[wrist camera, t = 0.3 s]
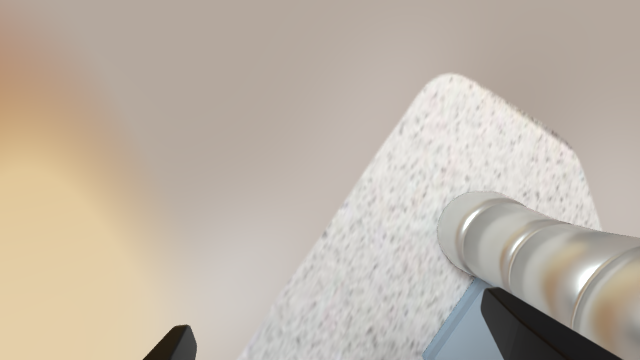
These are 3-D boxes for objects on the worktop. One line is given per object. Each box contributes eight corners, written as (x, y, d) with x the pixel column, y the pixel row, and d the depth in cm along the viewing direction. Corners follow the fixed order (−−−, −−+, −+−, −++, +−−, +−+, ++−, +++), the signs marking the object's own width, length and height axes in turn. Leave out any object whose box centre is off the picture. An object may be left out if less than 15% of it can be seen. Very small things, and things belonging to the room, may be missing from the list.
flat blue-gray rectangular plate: (493, 395, 28) (499, 402, 27) (421, 355, 27) (425, 361, 26) (548, 320, 27) (555, 325, 26) (476, 276, 26) (481, 280, 26)
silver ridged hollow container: (516, 220, 26) (1216, 475, 6) (461, 275, 26) (952, 685, 6) (468, 170, 25) (1091, 274, 5) (411, 227, 25) (797, 527, 6)
